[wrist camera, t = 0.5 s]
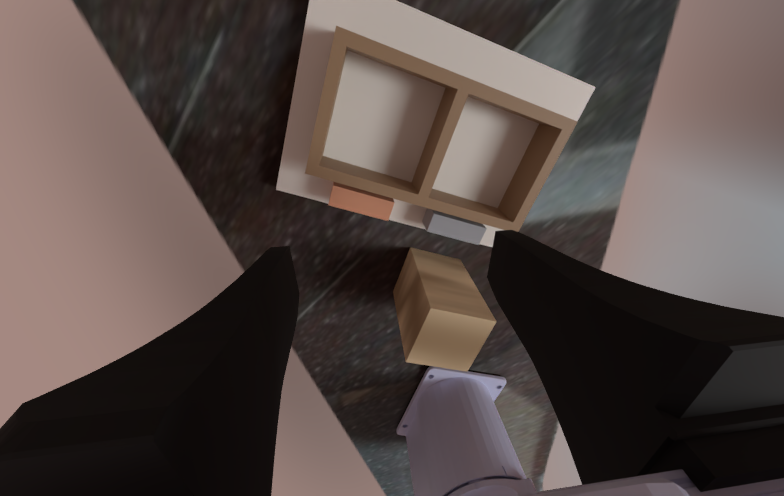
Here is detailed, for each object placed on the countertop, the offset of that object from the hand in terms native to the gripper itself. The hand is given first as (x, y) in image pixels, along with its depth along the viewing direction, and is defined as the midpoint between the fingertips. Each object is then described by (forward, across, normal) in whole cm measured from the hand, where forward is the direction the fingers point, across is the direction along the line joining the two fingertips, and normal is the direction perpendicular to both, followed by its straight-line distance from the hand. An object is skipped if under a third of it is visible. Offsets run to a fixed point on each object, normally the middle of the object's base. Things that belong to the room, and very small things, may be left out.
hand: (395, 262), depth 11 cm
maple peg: (+10, -4, +8) cm, 13 cm away
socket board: (+11, -4, -2) cm, 11 cm away
